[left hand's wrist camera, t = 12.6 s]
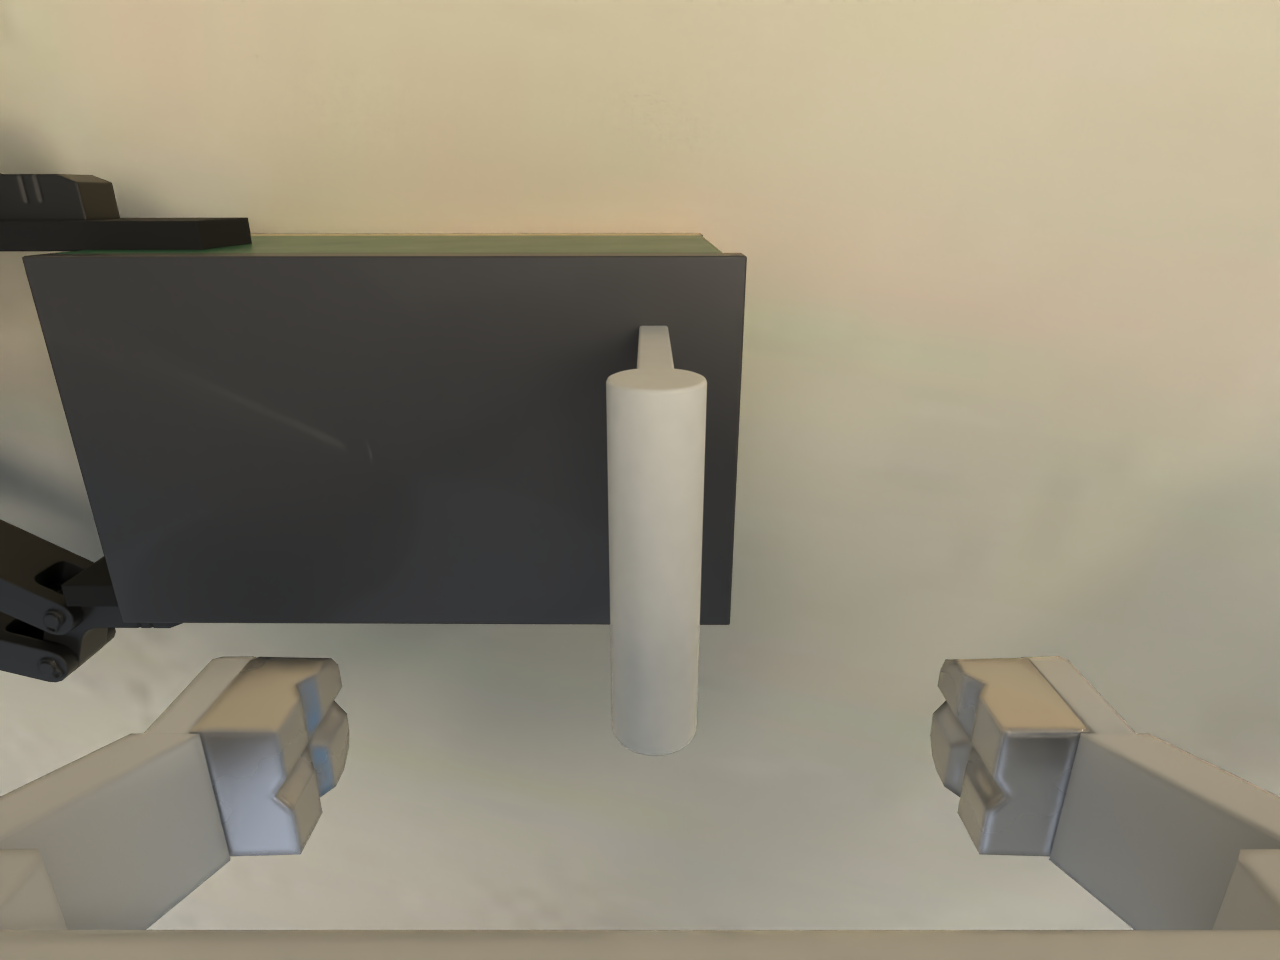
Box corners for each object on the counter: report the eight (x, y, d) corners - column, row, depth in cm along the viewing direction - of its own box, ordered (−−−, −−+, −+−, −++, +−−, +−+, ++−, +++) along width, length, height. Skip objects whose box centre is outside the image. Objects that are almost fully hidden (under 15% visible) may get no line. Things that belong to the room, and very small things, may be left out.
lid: (742, 253, 19) (805, 293, 11) (726, 608, 22) (766, 819, 15) (49, 253, 19) (-343, 293, 12) (142, 606, 23) (-111, 813, 15)
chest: (700, 233, 28) (724, 252, 19) (694, 491, 31) (712, 607, 22) (238, 233, 28) (50, 253, 19) (284, 490, 31) (143, 605, 23)
